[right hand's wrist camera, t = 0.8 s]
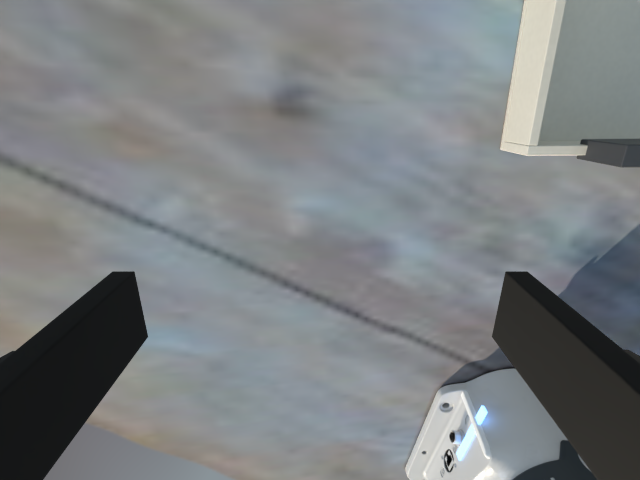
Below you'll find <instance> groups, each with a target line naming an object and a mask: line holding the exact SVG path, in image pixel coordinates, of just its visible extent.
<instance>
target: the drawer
mask: <svg viewBox="0 0 640 480" xmlns="http://www.w3.org/2000/svg"><path fill="white" fill-rule="evenodd" d="M500 150H504V151H509V152H513V153H517V154H522V155H526V156H552V155H577V159H582V160H587V161H592V162H597V163H602V164H607V165H612V166H617V167H640V0H524V6H523V12H522V18H521V24H520V30H519V37H518V43H517V49H516V55H515V61H514V67H513V73H512V80H511V86H510V92H509V98H508V104H507V110H506V116H505V123H504V129H503V135H502V141H501V147H500Z"/></svg>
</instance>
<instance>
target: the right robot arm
mask: <svg viewBox="0 0 640 480" xmlns="http://www.w3.org/2000/svg"><path fill="white" fill-rule="evenodd" d="M147 337H148V335H147V330H146V325H145V320H144V315H143V311H142V306H141V301H140V296H139V292H138V287H137V282H136V277H135V272H112V273H110V274H109V275H108V276H107V277H106V278H104V279H103V280H102V281H101V282H99V283H98V284H97V285H96V286H94V287H93V288H92V289H91V290H90V291H88V292H87V293H86V294H85V295H83V296H82V297H81V298H80V299H79V300H77V301H76V302H75V303H74V304H72V305H71V306H70V307H69V308H68V309H66V310H65V311H64V312H63V313H61V314H60V315H59V316H58V317H56V318H55V319H54V320H53V321H52V322H50V323H49V324H48V325H47V326H45V327H44V328H43V329H42V330H41V331H39V332H38V333H37V334H36V335H34V336H33V337H32V338H31V339H30V340H28V341H27V342H26V343H25V344H23V345H22V346H21V347H20V348H18V349H17V350H16V351H12V352H10V353H8V354H6V355H4V356H2V357H1V358H0V480H43V479H44V478H45V476H46V475H47V474H48V472H49V471H50V469H51V468H52V467H53V465H54V464H55V462H56V461H57V460H58V458H59V457H60V456H61V454H62V453H63V452H64V450H65V449H66V448H67V446H68V445H69V444H70V442H71V441H72V439H73V438H74V437H75V435H76V434H77V433H78V431H79V430H80V429H81V427H82V426H83V425H84V423H85V422H86V420H87V419H88V418H89V416H90V415H91V414H92V412H93V411H94V410H95V408H96V407H97V405H98V404H99V403H100V401H101V400H102V399H103V397H104V396H105V395H106V393H107V392H108V390H109V389H110V388H111V386H112V385H113V384H114V382H115V381H116V380H117V378H118V377H119V375H120V374H121V373H122V371H123V370H124V369H125V367H126V366H127V365H128V363H129V362H130V361H131V359H132V358H133V356H134V355H135V354H136V352H137V351H138V350H139V348H140V347H141V346H142V344H143V343H144V341H145V340H146V339H147ZM492 337H493V339H494V340H495V341H496V343H497V344H498V346H499V347H500V348H501V350H502V351H503V352H504V354H505V355H506V356H507V358H508V359H509V361H510V362H511V363H512V365H513V366H514V367H515V369H516V370H517V371H518V373H519V374H520V375H521V377H522V378H523V380H524V381H525V382H526V384H527V385H528V386H529V388H530V389H531V390H532V392H533V393H534V395H535V396H536V397H537V399H538V400H539V401H540V403H541V404H542V405H543V407H544V408H545V410H546V411H547V412H548V414H549V415H550V416H551V418H552V419H553V420H554V422H555V423H556V425H557V426H558V427H559V429H560V430H561V431H562V433H563V434H564V435H565V437H566V438H567V439H568V441H569V442H570V444H571V445H572V446H573V448H574V449H575V450H576V452H577V453H578V454H579V456H580V457H581V459H582V460H583V461H584V463H585V464H586V465H587V467H588V468H589V469H590V471H591V472H592V474H593V475H594V476H595V478H596V479H597V480H640V356H639V355H637V354H635V353H633V352H631V351H629V350H623V349H622V348H620V347H619V346H618V345H617V344H615V343H614V342H613V341H612V340H610V339H609V338H608V337H607V336H606V335H604V334H603V333H602V332H601V331H599V330H598V329H597V328H596V327H595V326H593V325H592V324H591V323H590V322H588V321H587V320H586V319H585V318H584V317H582V316H581V315H580V314H579V313H577V312H576V311H575V310H574V309H572V308H571V307H570V306H569V305H568V304H566V303H565V302H564V301H563V300H561V299H560V298H559V297H558V296H557V295H555V294H554V293H553V292H552V291H550V290H549V289H548V288H547V287H546V286H544V285H543V284H542V283H541V282H539V281H538V280H537V279H536V278H534V277H533V276H532V275H531V274H530V273H528V272H505V277H504V282H503V287H502V292H501V296H500V301H499V306H498V311H497V315H496V320H495V325H494V330H493V335H492Z"/></svg>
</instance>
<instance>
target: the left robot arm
mask: <svg viewBox="0 0 640 480" xmlns="http://www.w3.org/2000/svg"><path fill="white" fill-rule="evenodd" d="M444 403H445V404H444ZM405 471H406V473H407V476H408V478H409V479H410V480H597V479H596V478H595V476H594V475H593V474H592V472H591V471H590V469H589V468H588V467H587V465H586V464H585V463H584V461H583V460H582V459H581V457H580V456H579V454H578V453H577V452H576V450H575V449H574V448H573V446H572V445H571V444H570V442H569V441H568V439H567V438H566V437H565V435H564V434H563V433H562V431H561V430H560V429H559V427H558V426H557V425H556V423H555V422H554V420H553V419H552V418H551V416H550V415H549V414H548V412H547V411H546V410H545V408H544V407H543V405H542V404H541V403H540V401H539V400H538V399H537V397H536V396H535V395H534V393H533V392H532V390H531V389H530V388H529V386H528V385H527V384H526V382H525V381H524V380H523V378H522V377H521V375H520V374H519V373H518V371H517V370H516V369H515V368H513V369H503V370H497V371H493V372H490V373H487V374H484V375H482V376H480V377H477V378H475V379H473V380H471V381H468V382H465V383H458V384H451V385H446V386H444V387H442V388H440V389H439V390H438V392H437V394H436V396H435V398H434V401H433V403H432V405H431V408H430V410H429V413H428V415H427V417H426V420H425V422H424V424H423V427H422V429H421V431H420V434H419V436H418V439H417V441H416V443H415V446H414V448H413V450H412V453H411V455H410V457H409V460H408V462H407V465H406V468H405Z"/></svg>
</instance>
